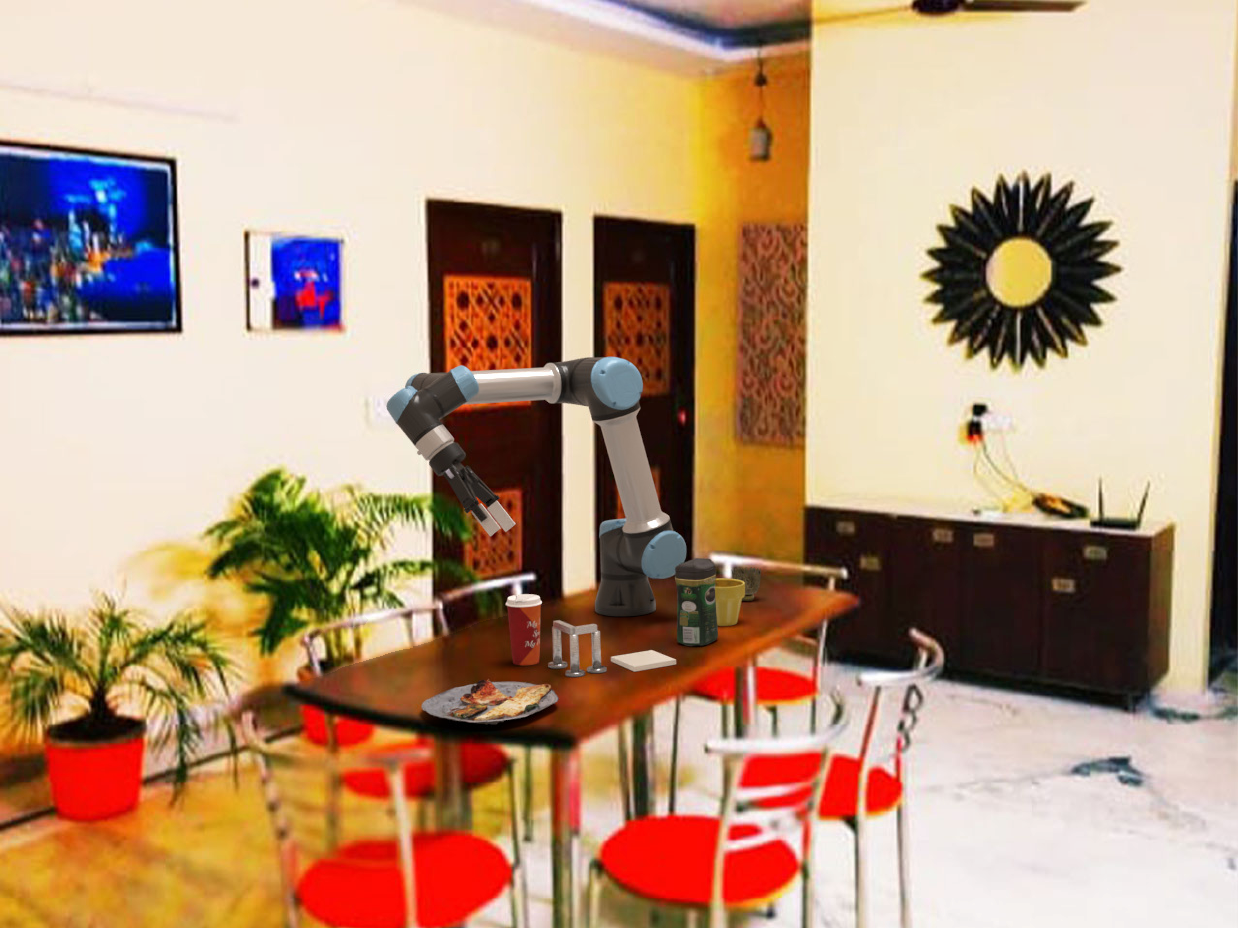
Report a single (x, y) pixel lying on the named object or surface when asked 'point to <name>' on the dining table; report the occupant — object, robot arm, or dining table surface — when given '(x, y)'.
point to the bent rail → (575, 648)
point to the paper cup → (524, 628)
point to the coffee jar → (696, 602)
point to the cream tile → (643, 660)
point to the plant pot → (728, 600)
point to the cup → (748, 581)
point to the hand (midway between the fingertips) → (503, 530)
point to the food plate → (491, 701)
